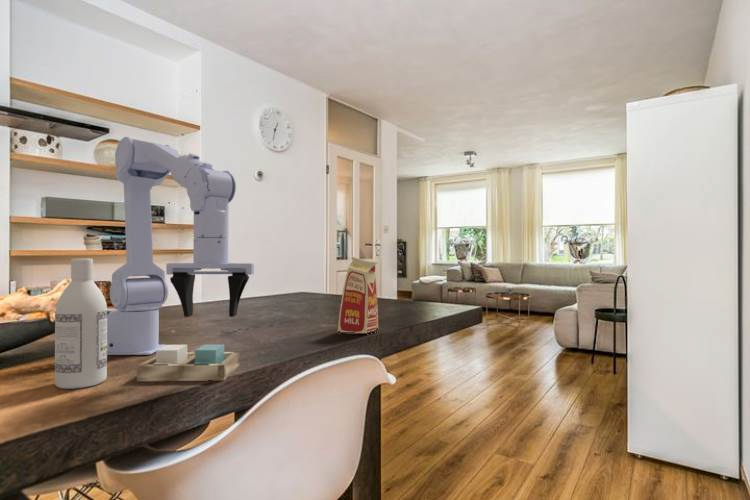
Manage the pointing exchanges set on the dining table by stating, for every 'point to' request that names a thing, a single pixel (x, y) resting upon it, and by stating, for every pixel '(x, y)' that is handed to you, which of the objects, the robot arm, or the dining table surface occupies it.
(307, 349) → the dining table surface
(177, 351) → the off-white plug
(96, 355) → the bath foam
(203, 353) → the teal rectangular block
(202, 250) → the robot arm
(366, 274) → the milk carton
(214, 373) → the slot rack
